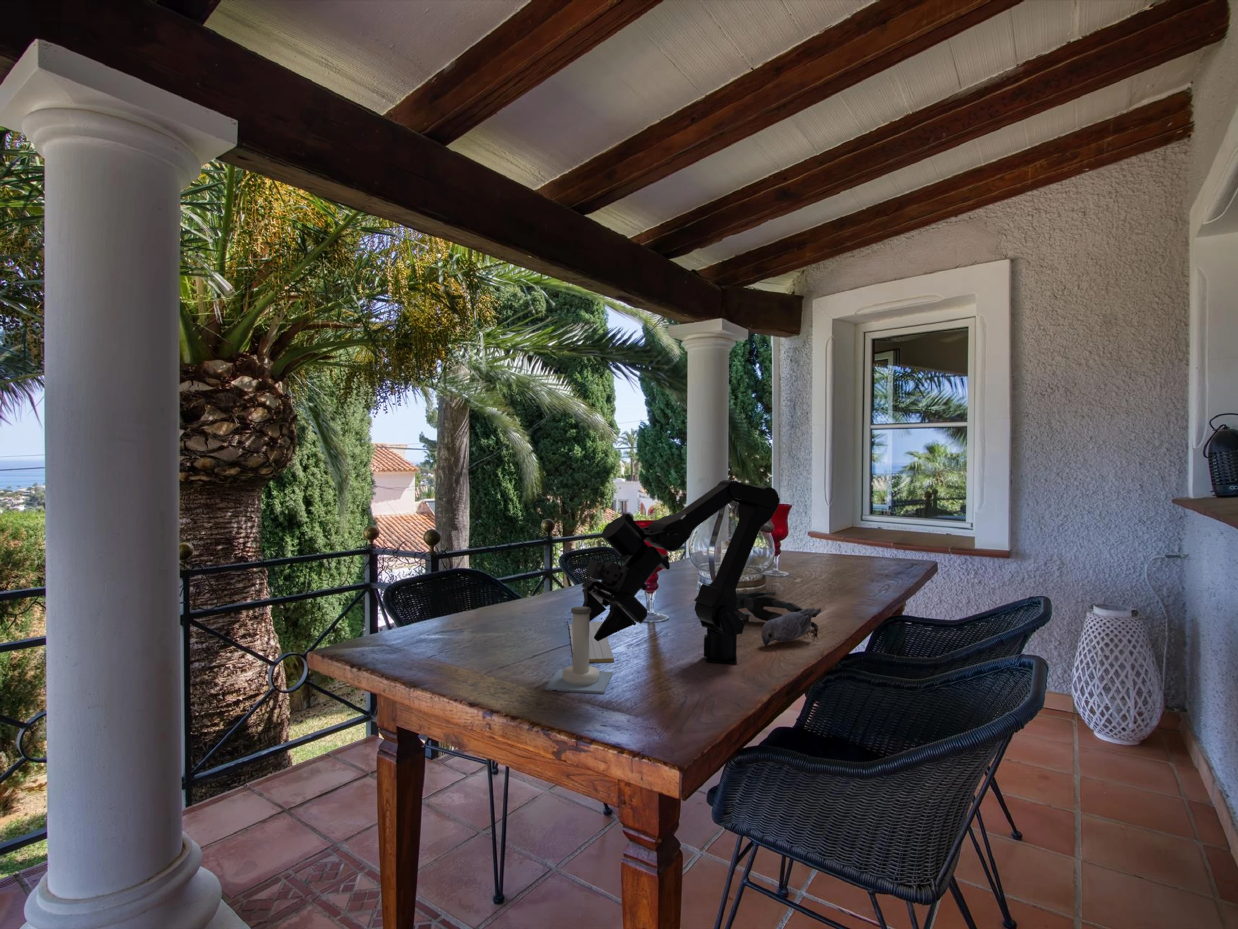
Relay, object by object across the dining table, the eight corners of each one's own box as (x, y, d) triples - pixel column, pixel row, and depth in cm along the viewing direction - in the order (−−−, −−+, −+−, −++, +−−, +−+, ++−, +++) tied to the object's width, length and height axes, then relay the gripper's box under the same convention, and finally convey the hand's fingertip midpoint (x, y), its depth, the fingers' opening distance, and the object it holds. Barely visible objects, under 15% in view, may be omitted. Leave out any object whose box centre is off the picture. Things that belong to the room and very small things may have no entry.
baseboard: (566, 666, 137) (614, 665, 138) (566, 652, 137) (614, 652, 138) (563, 627, 167) (602, 627, 168) (563, 616, 167) (602, 616, 168)
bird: (755, 644, 153) (755, 612, 153) (804, 635, 161) (804, 605, 161) (772, 650, 148) (772, 617, 148) (821, 641, 157) (822, 609, 156)
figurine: (817, 600, 163) (705, 577, 178) (812, 636, 162) (699, 610, 177) (826, 603, 173) (719, 581, 188) (820, 637, 171) (713, 613, 186)
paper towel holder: (605, 677, 128) (605, 607, 127) (587, 688, 121) (587, 614, 121) (574, 671, 131) (575, 603, 131) (555, 682, 125) (555, 610, 125)
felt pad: (612, 673, 131) (612, 671, 131) (604, 693, 120) (604, 691, 120) (558, 670, 132) (558, 668, 132) (545, 690, 121) (545, 688, 121)
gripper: (590, 539, 137) (540, 597, 132) (632, 551, 120) (577, 618, 115) (624, 573, 141) (576, 631, 136) (669, 590, 124) (617, 656, 119)
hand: (585, 633), depth 126 cm, fingers open, 9 cm apart
